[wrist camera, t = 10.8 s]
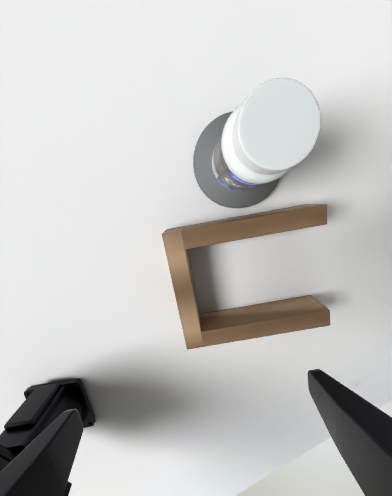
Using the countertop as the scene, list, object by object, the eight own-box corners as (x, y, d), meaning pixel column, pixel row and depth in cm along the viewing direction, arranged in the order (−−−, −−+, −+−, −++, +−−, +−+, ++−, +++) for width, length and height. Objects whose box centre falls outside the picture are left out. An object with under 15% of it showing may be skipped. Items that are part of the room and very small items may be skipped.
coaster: (284, 199, 19) (287, 199, 18) (201, 214, 19) (201, 215, 18) (277, 105, 17) (280, 102, 16) (186, 123, 17) (185, 120, 17)
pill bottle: (215, 194, 18) (235, 186, 10) (207, 138, 17) (222, 76, 9) (267, 185, 18) (331, 170, 10) (262, 128, 17) (329, 57, 9)
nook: (311, 308, 21) (330, 325, 18) (187, 329, 22) (187, 349, 19) (305, 204, 19) (326, 204, 16) (166, 229, 19) (161, 234, 16)
